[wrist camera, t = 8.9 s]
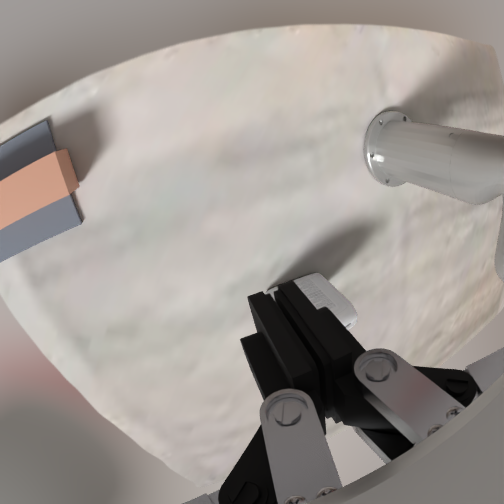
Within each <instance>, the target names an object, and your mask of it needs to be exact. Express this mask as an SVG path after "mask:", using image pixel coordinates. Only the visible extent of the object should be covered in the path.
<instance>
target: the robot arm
mask: <svg viewBox="0 0 504 504" xmlns="http://www.w3.org/2000/svg"><path fill="white" fill-rule="evenodd" d="M364 153H365V160H366V164H367V167H368V169H369V171H370V173H371V174H372V176H373V177H374V178H375V179H376V180H377V181H378V182H380V183H381V184H384V185H387V186H391V187H395V186H400V185H402V184H404V183H406V182H408V183H411V184H415V185H418V186H421V187H424V188H427V189H430V190H432V191H435V192H438V193H441V194H444V195H447V196H449V197H452V198H455V199H458V200H460V201H463V202H466V203H469V204H473V205H481V204H485V203H488V202H490V201H492V200H494V199H495V198H497V197H498V196H500V195H501V194H502V197H503V206H502V218H501V224H500V230H499V236H498V241H497V247H496V252H495V270H496V273H497V275H498V276H499V278H500V279H501V280H502V281H503V282H504V136H502V135H496V134H490V133H484V132H478V131H473V130H467V129H461V128H454V127H448V126H441V125H433V124H425V123H417V122H412V120H411V119H410V118H409V117H408V116H407V115H405V114H403V113H401V112H398V111H386V112H383V113H381V114H380V115H378V116H377V117H376V118H375V119H374V120H373V121H372V123H371V124H370V126H369V128H368V130H367V133H366V137H365V143H364ZM274 298H275V300H274V299H273V297H272V296H271V294H270V293H268V294H264V293H263V292H259V293H256V294H253V295H250V296H248V302H249V305H250V309H251V312H252V316H253V319H254V323H255V326H256V330H257V333H255V334H252V335H250V336H247V337H244V338H241V339H240V341H241V344H242V347H243V350H244V352H245V355H246V358H247V361H248V363H249V366H250V368H251V371H252V373H253V376H254V378H255V381H256V383H257V385H258V388H259V390H260V392H261V395H262V397H263V399H264V402H263V403H262V405H261V408H260V420H261V425H260V427H259V429H258V430H257V432H256V434H255V435H254V437H253V438H252V440H251V442H250V443H249V445H248V446H247V448H246V450H245V451H244V453H243V454H242V456H241V457H240V459H239V461H238V462H237V464H236V465H235V467H234V468H233V470H232V471H231V473H230V474H229V476H228V477H227V479H226V480H225V482H224V483H223V485H222V486H221V488H220V490H218V491H216V492H213V493H211V494H209V495H207V494H204V495H201V496H199V497H197V498H195V499H193V500H190V501H188V502H185V503H183V504H504V348H501V349H499V350H498V351H496V352H494V353H492V354H490V355H488V356H486V357H484V358H482V359H480V360H478V361H476V362H474V363H472V364H470V365H468V366H466V368H465V370H463V371H462V370H456V369H442V368H429V367H418V366H412V365H410V364H409V363H408V362H406V361H405V360H404V359H402V358H401V357H400V356H399V355H397V354H396V353H394V352H392V351H391V350H387V349H372V350H368V351H366V350H365V349H364V348H363V347H362V346H361V345H360V343H359V342H358V341H357V340H356V339H355V338H354V337H353V335H352V334H351V333H350V332H349V331H348V330H347V329H346V327H345V326H344V325H343V324H342V323H341V322H340V321H339V319H338V318H337V317H336V316H335V315H334V314H333V313H332V311H331V310H330V309H329V308H328V307H322V308H320V309H316V307H315V306H314V305H313V304H312V303H311V301H310V300H309V299H308V298H307V297H306V295H305V294H304V293H303V292H302V291H301V289H300V288H299V287H298V286H297V285H296V283H295V282H294V281H289V282H286V283H284V284H281V285H278V290H276V291H274ZM325 417H326V418H327V419H328V418H330V417H332V418H333V420H334V421H335V423H339V422H341V421H342V422H343V424H344V425H348V426H352V427H353V429H354V431H355V432H356V433H357V434H358V435H359V436H360V437H361V438H362V439H363V440H364V441H365V443H366V444H367V445H368V446H369V447H370V448H371V449H372V450H373V451H374V452H375V453H376V454H377V455H378V456H379V457H380V458H381V459H382V460H383V461H384V462H385V463H386V465H384V466H382V467H381V468H379V469H377V470H375V471H373V472H372V473H370V474H368V475H366V476H364V477H362V478H360V479H358V480H357V481H354V482H352V483H350V484H348V485H346V486H344V487H342V484H341V481H340V478H339V475H338V472H337V469H336V466H335V463H334V461H333V458H332V455H331V452H330V449H329V446H328V443H327V441H326V438H325V435H326V424H325Z"/></svg>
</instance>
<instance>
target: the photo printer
mask: <svg viewBox="0 0 504 504" xmlns="http://www.w3.org/2000/svg"><path fill="white" fill-rule="evenodd" d="M293 281H294V282H295V283H296V285H297V286H298V287H299V288H300V289H301V291H302V292H303V293H304V294H305V295H306V297H307V298H308V299H309V300H310V301H311V303H312V304H313V305H314V306H315V307H316V309H320V308H322V307H328V308H329V309H330V310H331V311H332V313H333V314H334V315H335V316H336V317H337V318H338V319H339V321H340V322H341V323H342V324H343V325H344V326H345V327H346V329H347V330H349V329H350V328H352V327H353V326H354V325H355V324H356V322H357V312H356V310H355V308H354V306H353V305H352V303H351V302H350V301H349V300H348V299H347V298H346V297H345V296H344V295H343V294H341V293H340V292H339V291H338V290H337V289H336V288H335V287H334V286H333V285H332V284H331V283H330V282H329V281H328V280H327V279H325V278H324V277H323V276H322V275H321V274H320V273H314V274H310V275H307V276H304V277H301V278H298V279H296V280H293ZM276 290H278V286H277V287H274V288H272V289H270V290H268V291H267V292H266V294H268V293H270V294H271V296H272V297H273V299H274V300H275V298H274V291H276Z"/></svg>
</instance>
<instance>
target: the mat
mask: <svg viewBox="0 0 504 504" xmlns="http://www.w3.org/2000/svg"><path fill="white" fill-rule="evenodd" d="M55 151H56V148H55V145H54V141H53V138H52V134H51V131H50V127H49V123H48V120H46V121H44V122H42V123H40V124H38V125H36V126H34V127H32V128H31V129H29V130H27V131H25V132H23V133H22V134H20V135H18V136H16V137H15V138H13V139H11V140H10V141H8V142H6V143H5V144H3V145H2V146H0V181H2V180H3V179H5V178H7V177H8V176H10V175H12V174H13V173H15V172H17V171H19V170H20V169H22V168H24V167H26V166H28V165H30V164H31V163H33V162H35V161H37V160H39V159H41V158H43V157H45V156H47V155H49V154H51V153H53V152H55ZM80 224H82V221H81V218H80V216H79V213H78V211H77V208H76V206H75V203H74V201H73V198H72V195H71V194H70V195H68V196H66V197H64V198H61V199H59V200H57V201H55V202H53V203H51V204H49V205H47V206H45V207H43V208H41V209H39V210H37V211H35V212H33V213H31V214H29V215H27V216H25V217H23V218H21V219H19V220H17V221H15V222H14V223H12V224H10V225H8V226H6V227H4V228H3V229H1V230H0V262H2V261H4V260H6V259H8V258H10V257H12V256H14V255H16V254H18V253H20V252H22V251H24V250H26V249H28V248H30V247H32V246H34V245H36V244H38V243H40V242H43V241H45V240H47V239H49V238H51V237H53V236H56V235H58V234H60V233H62V232H64V231H67V230H69V229H71V228H74V227H76V226H78V225H80Z"/></svg>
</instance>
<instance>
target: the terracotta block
mask: <svg viewBox="0 0 504 504" xmlns="http://www.w3.org/2000/svg"><path fill="white" fill-rule="evenodd" d="M78 187H79V183H78V180H77V177H76V174H75V171H74V169H73V166H72V162H71V159H70V156H69V153H68V150H67V148H66V149H62V150H59V151H55V152H53V153H51V154H49V155H47V156H45V157H43V158H41V159H39V160H37V161H35V162H33V163H31V164H30V165H28V166H26V167H24V168H22V169H20V170H19V171H17V172H15V173H13V174H12V175H10V176H8V177H7V178H5V179H3V180H2V181H0V230H1V229H3V228H4V227H6V226H8V225H10V224H12V223H14V222H15V221H17V220H19V219H21V218H23V217H25V216H27V215H29V214H31V213H33V212H35V211H37V210H39V209H41V208H43V207H45V206H47V205H49V204H51V203H53V202H55V201H57V200H59V199H61V198H64V197H66V196H68V195H70V194H71V193H72V192H73V191H75V190H76V189H77V188H78Z"/></svg>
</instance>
